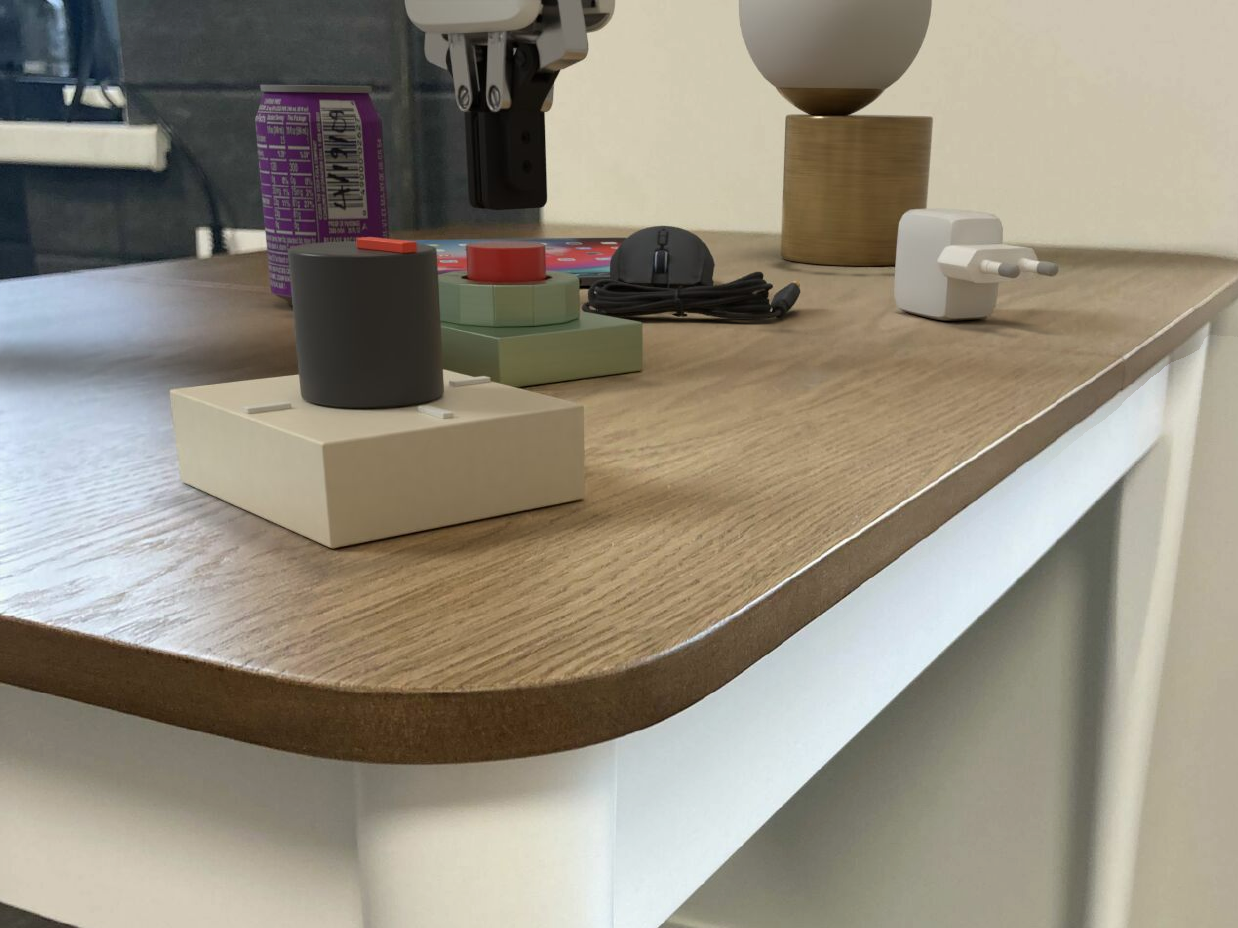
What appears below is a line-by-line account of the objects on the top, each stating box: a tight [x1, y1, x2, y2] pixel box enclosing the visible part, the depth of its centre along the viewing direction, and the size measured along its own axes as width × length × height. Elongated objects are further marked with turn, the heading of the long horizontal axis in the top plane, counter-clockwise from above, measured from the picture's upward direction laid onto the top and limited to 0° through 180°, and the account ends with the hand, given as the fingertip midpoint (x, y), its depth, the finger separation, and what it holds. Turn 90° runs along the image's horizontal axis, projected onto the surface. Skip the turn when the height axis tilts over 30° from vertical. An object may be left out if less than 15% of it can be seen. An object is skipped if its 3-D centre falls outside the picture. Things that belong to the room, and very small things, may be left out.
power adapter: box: [893, 207, 1060, 322], centre depth 83 cm, size 11×5×6 cm, turn 25°
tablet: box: [404, 236, 627, 287], centre depth 108 cm, size 19×25×1 cm
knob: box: [288, 237, 444, 408], centre depth 45 cm, size 4×4×5 cm
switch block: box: [438, 270, 643, 388], centre depth 69 cm, size 10×8×4 cm
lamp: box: [738, 0, 934, 267], centre depth 111 cm, size 15×14×25 cm
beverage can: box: [254, 84, 390, 306], centre depth 86 cm, size 7×7×12 cm
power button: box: [466, 241, 546, 282], centre depth 68 cm, size 4×4×2 cm
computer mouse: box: [581, 225, 801, 320], centre depth 89 cm, size 12×18×4 cm
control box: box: [169, 369, 586, 549], centre depth 47 cm, size 10×9×3 cm
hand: (508, 207), depth 67 cm, fingers closed
